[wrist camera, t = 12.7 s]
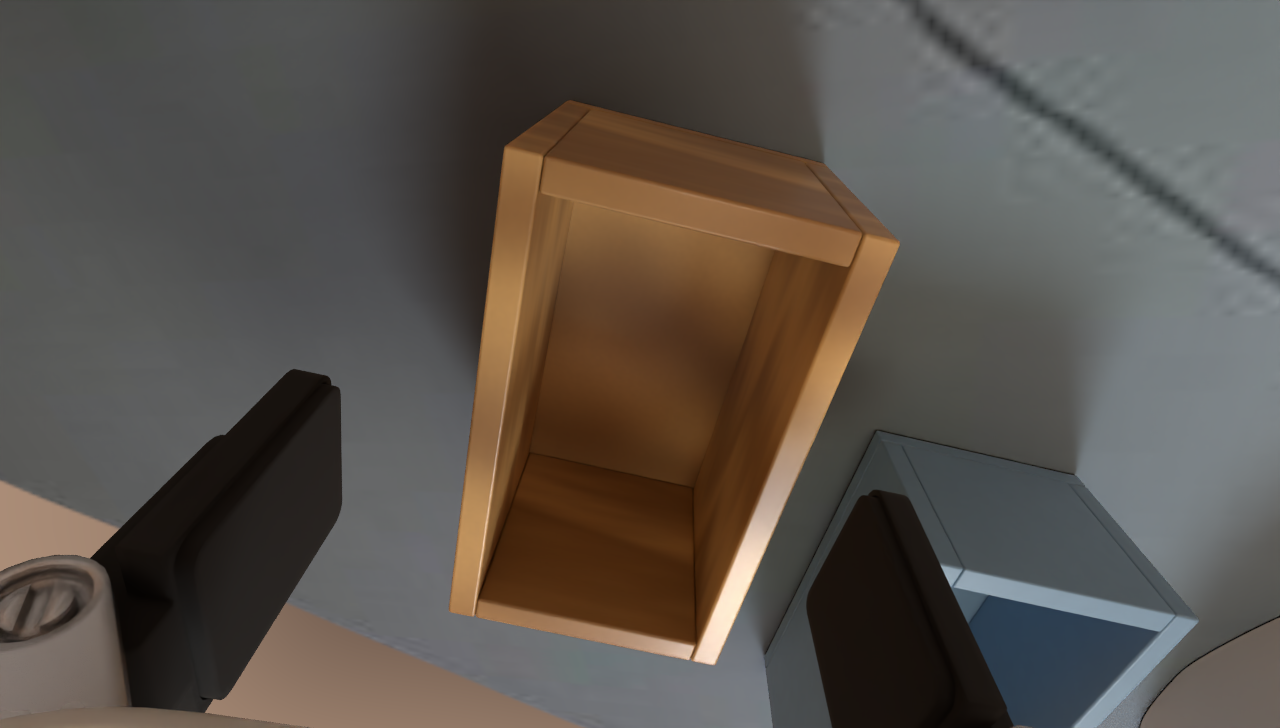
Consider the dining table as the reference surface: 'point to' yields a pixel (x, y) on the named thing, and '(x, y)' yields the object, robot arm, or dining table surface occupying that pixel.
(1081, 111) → the dining table surface
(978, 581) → the blue basket
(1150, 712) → the lumpy-topped squat cylinder
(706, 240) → the wooden basket
